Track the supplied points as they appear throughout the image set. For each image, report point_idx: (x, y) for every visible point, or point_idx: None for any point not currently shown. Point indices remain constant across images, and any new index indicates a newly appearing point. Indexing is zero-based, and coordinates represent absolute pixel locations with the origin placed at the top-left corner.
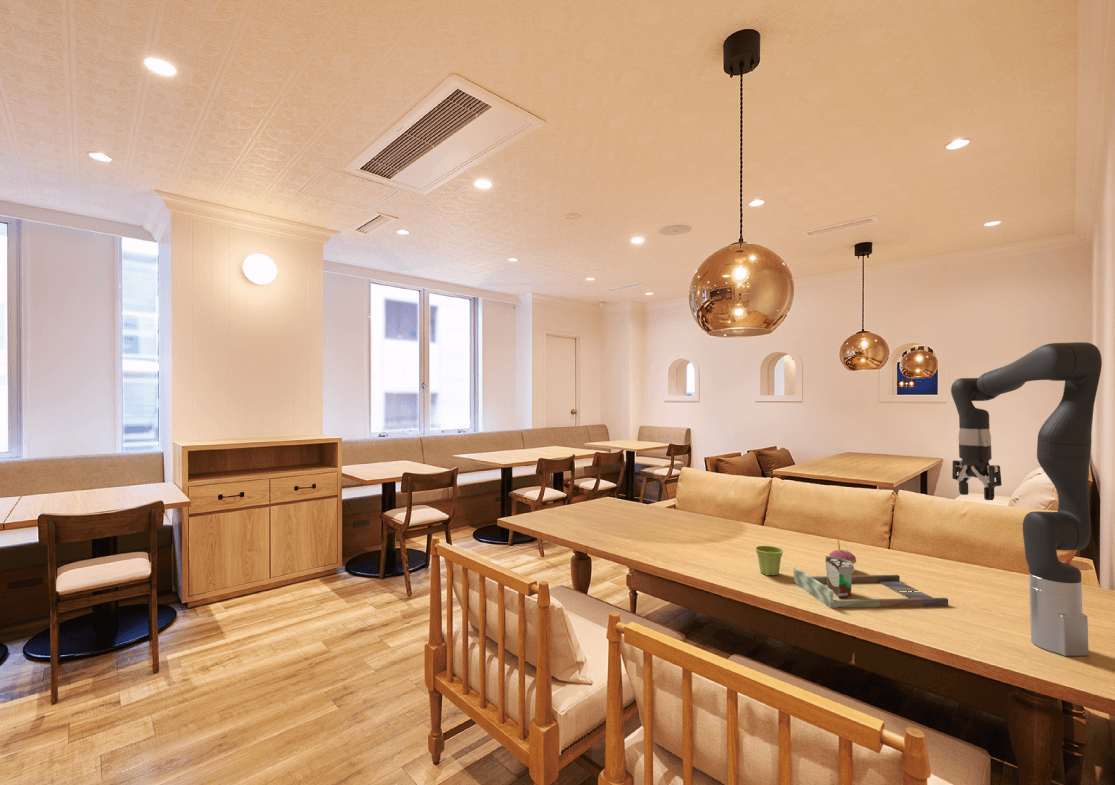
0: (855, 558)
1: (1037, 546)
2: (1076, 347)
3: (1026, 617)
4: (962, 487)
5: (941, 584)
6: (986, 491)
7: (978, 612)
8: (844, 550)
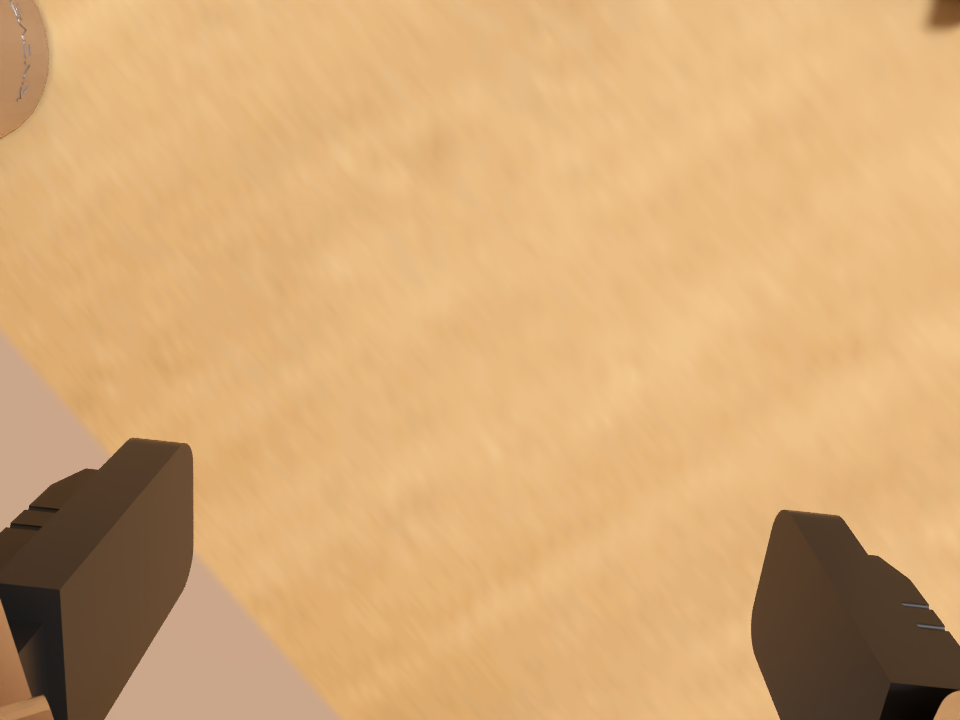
0: None
1: None
2: None
3: (304, 274)
4: (830, 620)
5: (836, 269)
6: (49, 530)
7: (396, 62)
8: None
